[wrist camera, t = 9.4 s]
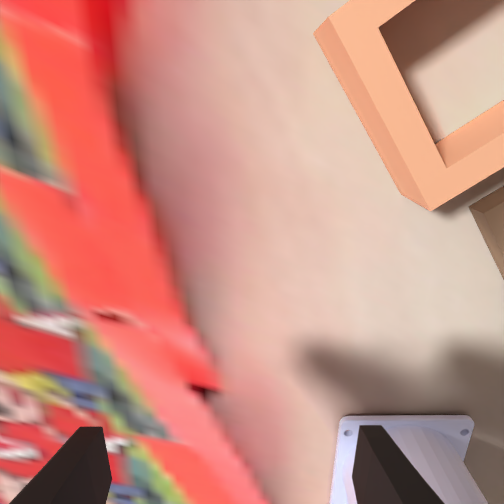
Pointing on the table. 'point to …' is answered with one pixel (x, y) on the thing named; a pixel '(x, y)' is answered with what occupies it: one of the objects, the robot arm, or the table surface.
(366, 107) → the c link
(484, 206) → the stand base
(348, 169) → the table surface
